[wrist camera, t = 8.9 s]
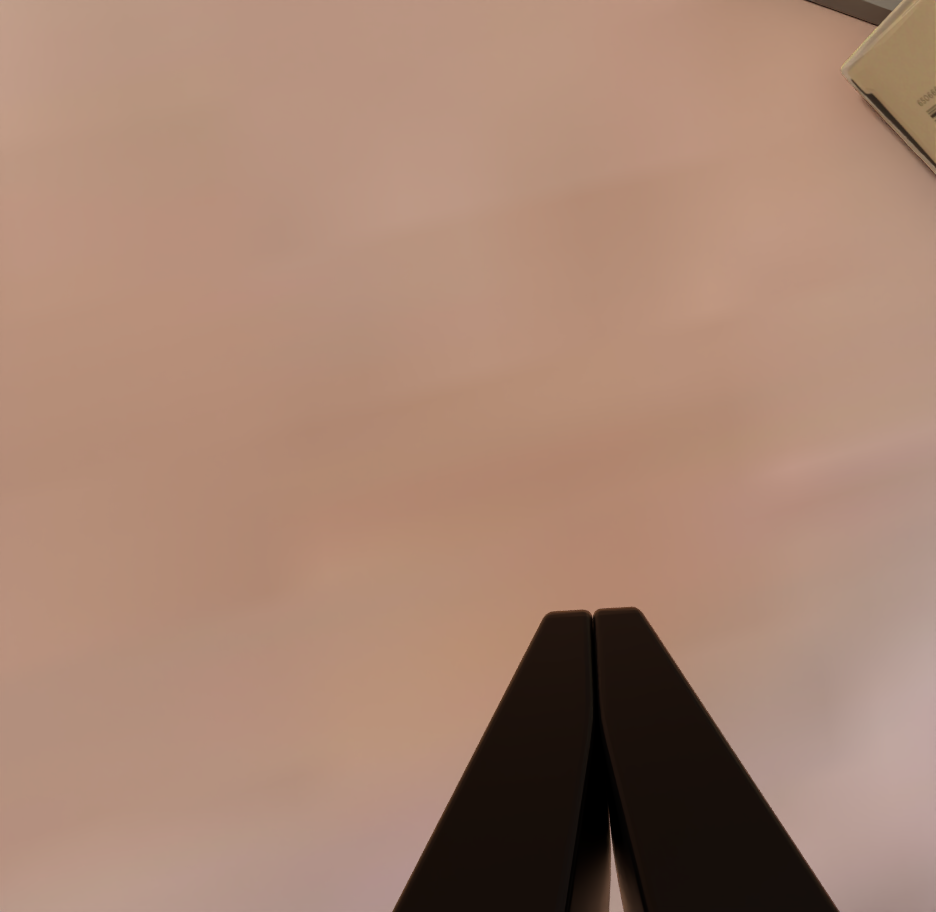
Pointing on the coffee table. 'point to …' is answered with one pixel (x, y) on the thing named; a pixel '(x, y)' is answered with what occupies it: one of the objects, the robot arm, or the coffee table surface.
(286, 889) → the coffee table surface
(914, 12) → the skincare box
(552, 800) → the robot arm
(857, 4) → the mat
